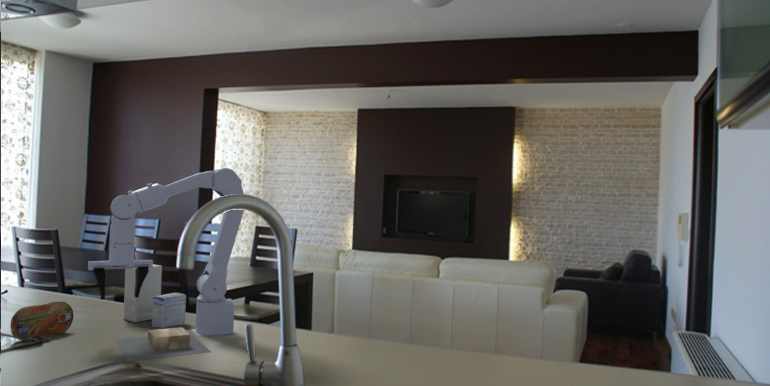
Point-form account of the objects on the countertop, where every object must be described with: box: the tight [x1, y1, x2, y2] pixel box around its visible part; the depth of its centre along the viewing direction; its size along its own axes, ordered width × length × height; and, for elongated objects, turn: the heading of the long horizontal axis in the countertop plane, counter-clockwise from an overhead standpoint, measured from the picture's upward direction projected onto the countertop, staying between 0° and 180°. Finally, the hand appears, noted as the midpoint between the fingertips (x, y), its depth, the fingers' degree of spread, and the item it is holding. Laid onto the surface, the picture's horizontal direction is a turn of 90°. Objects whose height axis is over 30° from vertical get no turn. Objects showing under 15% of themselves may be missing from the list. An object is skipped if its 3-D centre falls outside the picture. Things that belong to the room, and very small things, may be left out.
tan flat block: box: [147, 327, 190, 351], centre depth 134 cm, size 3×8×8 cm
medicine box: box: [151, 292, 187, 329], centre depth 155 cm, size 8×4×9 cm, turn 154°
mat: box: [114, 332, 212, 362], centre depth 133 cm, size 18×20×1 cm
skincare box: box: [123, 263, 163, 323], centre depth 163 cm, size 8×7×16 cm
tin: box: [10, 301, 74, 342], centre depth 139 cm, size 15×3×8 cm, turn 157°
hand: (119, 297), depth 139 cm, fingers open, 7 cm apart
